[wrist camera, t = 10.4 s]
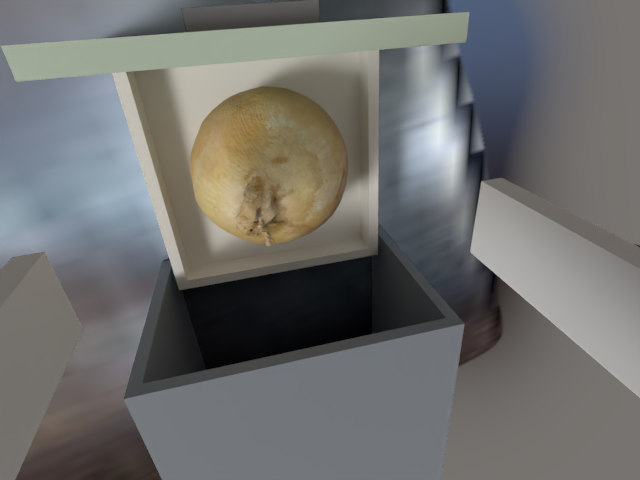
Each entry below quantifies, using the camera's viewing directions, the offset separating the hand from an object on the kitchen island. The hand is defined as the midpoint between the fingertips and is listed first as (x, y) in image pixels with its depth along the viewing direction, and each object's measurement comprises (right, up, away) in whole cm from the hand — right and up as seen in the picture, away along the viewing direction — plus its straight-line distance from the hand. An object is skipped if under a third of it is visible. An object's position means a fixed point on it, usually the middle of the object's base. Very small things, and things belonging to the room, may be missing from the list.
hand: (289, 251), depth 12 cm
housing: (-2, -5, +17) cm, 18 cm away
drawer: (-2, +6, +11) cm, 12 cm away
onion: (-2, +5, +10) cm, 12 cm away
